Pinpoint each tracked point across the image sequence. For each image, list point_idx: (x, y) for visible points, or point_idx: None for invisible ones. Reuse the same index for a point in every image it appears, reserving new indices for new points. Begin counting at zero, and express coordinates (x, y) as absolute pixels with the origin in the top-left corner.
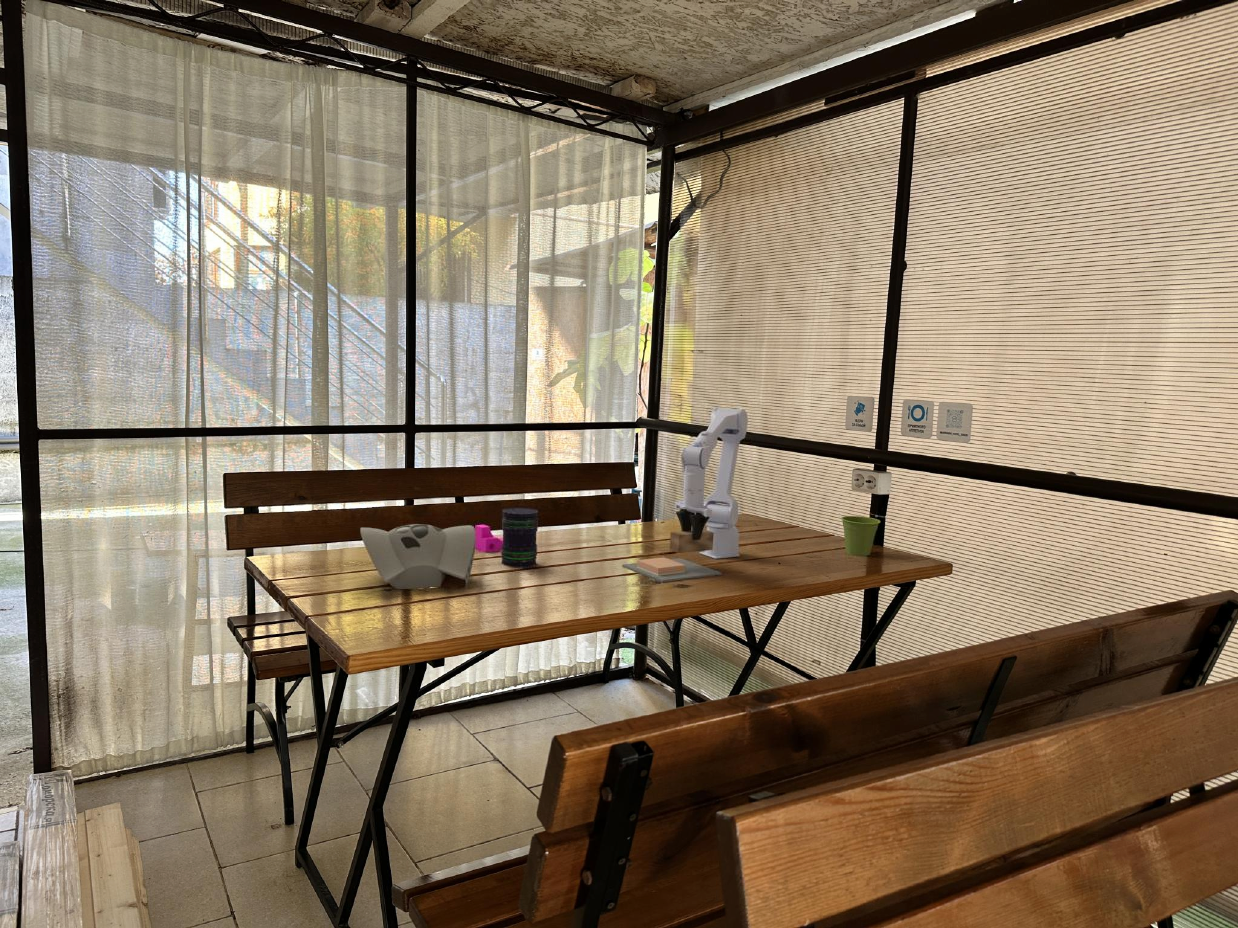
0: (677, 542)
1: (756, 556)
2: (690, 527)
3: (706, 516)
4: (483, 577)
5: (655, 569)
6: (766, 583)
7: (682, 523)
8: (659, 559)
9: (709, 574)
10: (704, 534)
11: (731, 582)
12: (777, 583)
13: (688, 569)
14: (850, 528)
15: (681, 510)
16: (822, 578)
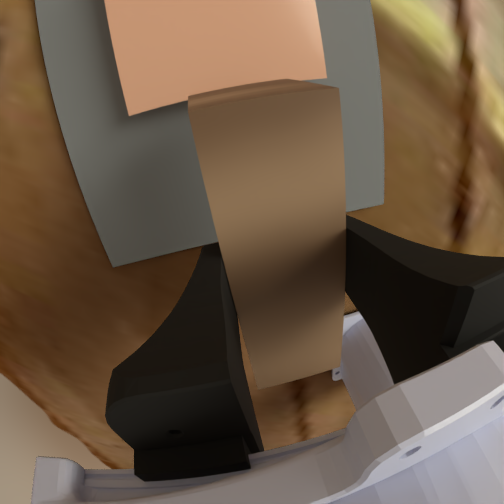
0: (208, 98)
1: (320, 403)
2: (358, 301)
3: (37, 459)
4: None
5: None
6: (24, 339)
7: (386, 254)
8: (288, 30)
9: (89, 209)
10: (244, 340)
11: (15, 252)
12: (31, 360)
13: (185, 148)
14: None
15: (501, 335)
16: (97, 437)
